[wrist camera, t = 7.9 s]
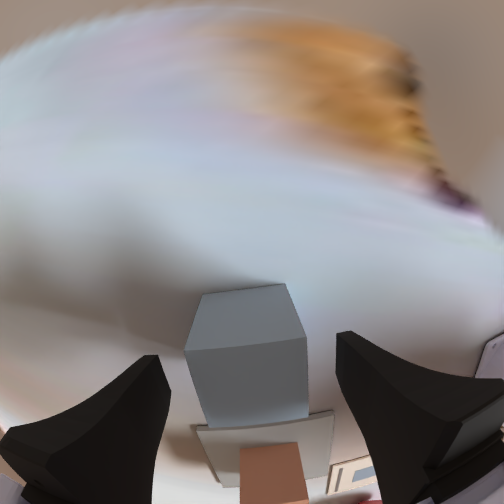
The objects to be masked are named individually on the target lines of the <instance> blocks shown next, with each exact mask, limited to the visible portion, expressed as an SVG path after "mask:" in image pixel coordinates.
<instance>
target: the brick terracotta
mask: <svg viewBox="0 0 504 504" xmlns="http://www.w3.org/2000/svg"><path fill="white" fill-rule="evenodd" d="M308 503H309V498H308V493H307V488H306V482H305V477H304V472H303V467H302V462H301V457H300V452H299V447H298V442H295V443H288V444H282V445H274V446H265V447H256V448H243V449H240V504H308Z"/></svg>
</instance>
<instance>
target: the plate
mask: <svg viewBox="0 0 504 504" xmlns="http://www.w3.org/2000/svg"><path fill="white" fill-rule="evenodd" d="M334 416H335V415H334V412H333V410H331V411H326V412H321V413H316V414H311V415H309V417H307V418H301V419H295V420H289V421H282V422H275V423H267V424H258V425H247V426H234V427H216V428H209V426H197V430H196V432H197V434H198V436H199V439H200V441H201V443H202V445H203V448H204V450H205V452H206V454H207V456H208V458H209V460H210V462H211V464H212V466H213V469H214V471H215V473H216V474H217V476H218V478H219V480H220V482H221V484H222V486H223V488H231V487H240V449H243V448H256V447H265V446H274V445H282V444H288V443H295V442H298V447H299V452H300V457H301V462H302V467H303V472H304V477H305V480H308V479H313V478H318V477H323V476H327V475H328V468H329V461H330V453H331V445H332V436H333V427H334Z"/></svg>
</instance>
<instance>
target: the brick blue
mask: <svg viewBox="0 0 504 504" xmlns="http://www.w3.org/2000/svg"><path fill="white" fill-rule="evenodd" d="M184 354H185V357H186V361H187V364H188V367H189V371H190V374H191V377H192V380H193V383H194V386H195V389H196V392H197V395H198V398H199V401H200V404H201V407H202V410H203V412H204V415H205V418H206V421H207V423H208V426H209V428H216V427H234V426H247V425H258V424H267V423H275V422H282V421H289V420H295V419H301V418H307V417H309V407H308V360H307V337H306V334H305V332H304V329H303V327H302V324H301V322H300V319H299V317H298V314H297V312H296V309H295V307H294V304H293V302H292V299H291V297H290V294H289V292H288V289H287V287H286V284H280V285H272V286H265V287H257V288H250V289H242V290H234V291H225V292H217V293H208V294H203V295H202V298H201V301H200V304H199V307H198V310H197V312H196V315H195V318H194V321H193V324H192V327H191V330H190V333H189V336H188V339H187V342H186V345H185V348H184Z"/></svg>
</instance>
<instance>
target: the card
mask: <svg viewBox="0 0 504 504" xmlns="http://www.w3.org/2000/svg"><path fill="white" fill-rule="evenodd" d="M374 482H377V478H376V474H375V470H374V467H373V463H372V460H371V457H370V455H368V456H365V457H361V458H358V459H354V460H351V461H347V462H343V463H339V464H335V465H333V466H332V472H331V478H330V483H329V489H328V495H332V494H336V493H340V492H344V491H348V490H352V489H355V488H359V487H362V486H365V485H368V484H371V483H374Z"/></svg>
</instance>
